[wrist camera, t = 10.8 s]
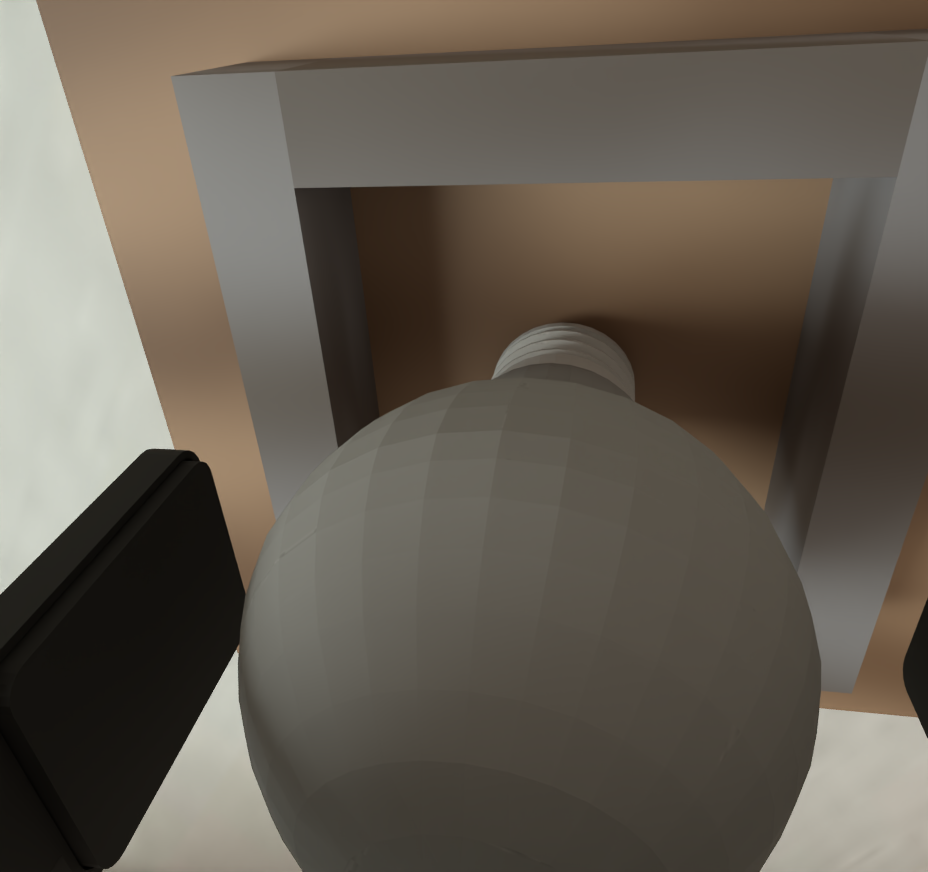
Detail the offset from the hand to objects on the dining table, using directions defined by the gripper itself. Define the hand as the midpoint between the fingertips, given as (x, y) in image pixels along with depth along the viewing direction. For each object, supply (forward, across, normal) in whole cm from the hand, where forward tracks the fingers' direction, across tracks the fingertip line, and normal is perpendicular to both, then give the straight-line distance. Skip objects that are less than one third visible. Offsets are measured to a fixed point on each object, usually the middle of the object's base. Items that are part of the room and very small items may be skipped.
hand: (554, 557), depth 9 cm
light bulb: (+6, 0, 0) cm, 6 cm away
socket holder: (+6, 0, 0) cm, 6 cm away
